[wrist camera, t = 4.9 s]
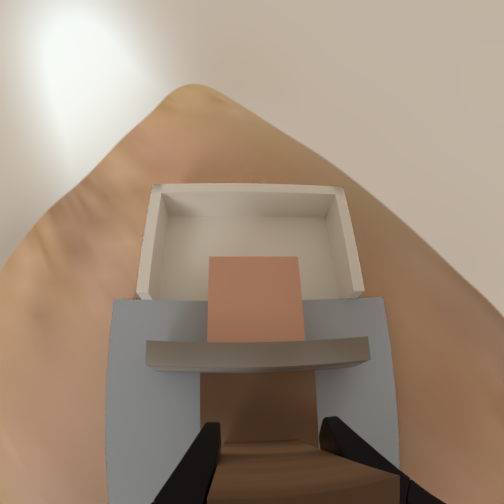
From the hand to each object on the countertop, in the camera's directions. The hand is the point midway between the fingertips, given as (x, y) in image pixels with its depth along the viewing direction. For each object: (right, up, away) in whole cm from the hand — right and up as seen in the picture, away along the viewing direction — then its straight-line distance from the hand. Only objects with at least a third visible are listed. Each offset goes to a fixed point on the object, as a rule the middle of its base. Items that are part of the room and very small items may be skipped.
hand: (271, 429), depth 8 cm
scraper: (0, -3, +4) cm, 5 cm away
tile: (-1, +2, +7) cm, 7 cm away
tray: (-1, +5, +10) cm, 12 cm away
